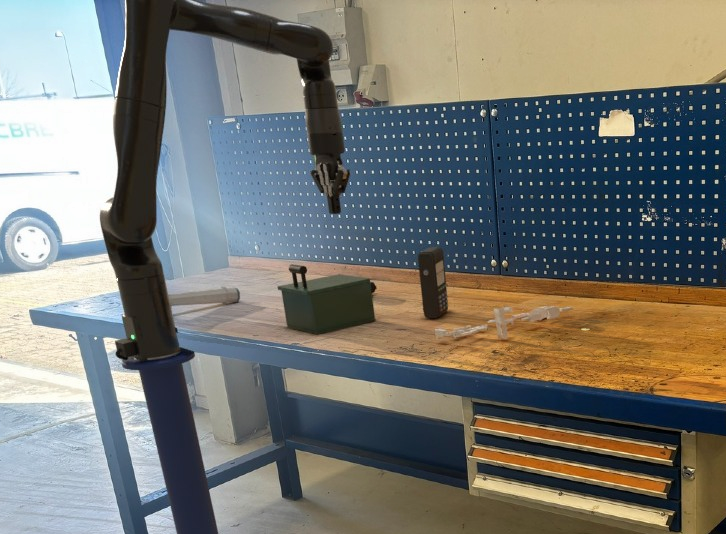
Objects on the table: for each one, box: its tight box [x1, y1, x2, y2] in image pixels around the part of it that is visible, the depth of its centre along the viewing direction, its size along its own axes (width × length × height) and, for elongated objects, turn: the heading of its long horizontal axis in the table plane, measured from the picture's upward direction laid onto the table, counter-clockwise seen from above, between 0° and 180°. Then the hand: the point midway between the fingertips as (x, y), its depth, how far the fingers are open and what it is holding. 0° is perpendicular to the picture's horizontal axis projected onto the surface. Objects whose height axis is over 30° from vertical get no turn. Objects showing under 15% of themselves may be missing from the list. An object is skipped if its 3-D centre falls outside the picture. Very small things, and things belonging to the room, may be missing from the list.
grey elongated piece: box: [434, 305, 574, 341], centre depth 177 cm, size 6×35×12 cm
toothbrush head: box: [168, 286, 241, 310], centre depth 219 cm, size 5×7×25 cm
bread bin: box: [280, 281, 376, 335], centre depth 194 cm, size 16×13×9 cm
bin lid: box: [276, 264, 371, 295], centre depth 191 cm, size 16×13×6 cm
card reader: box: [417, 246, 449, 319], centre depth 194 cm, size 9×4×15 cm, turn 168°
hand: (335, 213), depth 190 cm, fingers closed
